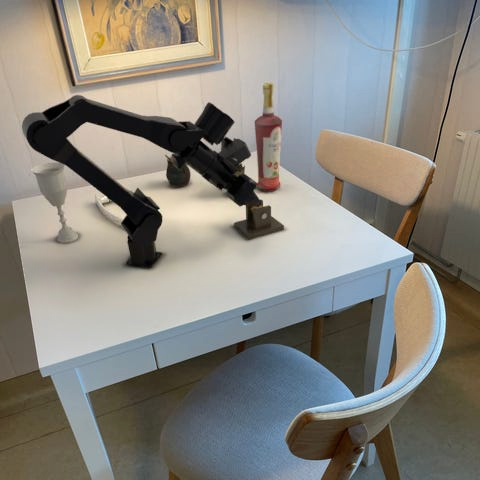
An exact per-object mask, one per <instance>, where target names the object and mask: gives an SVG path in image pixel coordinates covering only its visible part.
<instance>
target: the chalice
mask: <svg viewBox="0 0 480 480" xmlns="http://www.w3.org/2000/svg"><path fill="white" fill-rule="evenodd" d="M64 169H65V165H64V164H62V163H59V162H57V161H53V162H52V161H51V162H44V163H41V164H40V163H39V164H38V165H35V166H33V167H32V168H31V172H32V173H33V174H34V176H35V178H36V182H37V185H38V188H39V191H40V193H41V194H42V196H43V197H44V199H46V200H47V202H49V204H50V205H51V206H52V207H56V209H57V213H56V214H57V216H59V220H58V222H60V223H61V226H62V227H61V228H60V229H59V230H58V233H57V234H58V235H57V242H59V243H62V244H67V243H72V242H75V241H76V240H77V239H78V238H79V235H78V233H76V231H75V230H74V229H73V228H72V227H69V226H68V225H67V218H65V212H64V210H63V208H62V206H63V205H65V203H66V198H67V193H68V183H67V179H66V175H65V172H64Z"/></svg>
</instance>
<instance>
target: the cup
mask: <svg viewBox="0 0 480 480" xmlns="http://www.w3.org/2000/svg"><path fill="white" fill-rule="evenodd" d="M235 167H236V168H238V170H237V172H236V173H235V175H236V176H237V177H238V176H239V175H241V174H245V173H246V172H245V170H246V165H245V164H244V165H243V162H242V163H240V164H239V165H237V166H235ZM225 190H226V191H225V193H227V191H228V190H227V189H225Z"/></svg>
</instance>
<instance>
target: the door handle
mask: <svg viewBox="0 0 480 480" xmlns="http://www.w3.org/2000/svg"><path fill="white" fill-rule="evenodd" d="M94 199H95V200H94V201H95V204H96V206H97V207H98V208H99V210H100V211H101V212H102V213H103V215H105V216H106V217H107V218H108V219H109V220H111V221H113V222H115V223H116V224H118V225H119V226H121V222H122V221H123V219H124V218H122V217H121V216H118V215H116V214H114V213H113V212H111V211H109V210H108V209H107V208H106V207H105V206H104V205H103V204H107V203H109V202H112V201H111V200H110V199H109V198H107V197H106V196H105V195H103V196H102V197H101V196H100V195H99V194H98V193H95V198H94Z"/></svg>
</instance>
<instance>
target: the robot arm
mask: <svg viewBox="0 0 480 480" xmlns="http://www.w3.org/2000/svg"><path fill="white" fill-rule="evenodd" d="M21 123H22V124H21V130H22V134H23V136H24V138H25V139H26V141H27V143H28V144H29V146H30V147H31V148H32V150H34V151H35V152H37V153H38V154H40V155H42V156H44V157H46V158H48V159H50V160H52V161H53V162H57V163H62V164H64V166H65V167H67V168H68V169H70V170H71V171H73V172H74V173H75V174H76V175H78V176H79V177H80V178H81V179H83V180H84V181H86V183H88V184H89V185H90V186H92V187H93V188H94V189H96V190H97V191H98V192H100V193H101V194H102V195H103V196H106V197H107V198H109V199H110V200H111V202H113V203H114V204H115V205H116V206H117V207H119V208H120V209H121V210H122V211H123V212H124V213H125V214H126V215H125V216H124V218H123V221H122V222H121V225H120V226H121V227H122V229H123V231H125V233H126V234H127V235H126V236H127V237H126V239H127V240H126V242H127V247H128V253H129V258H128V259H127V260H126V261H125V265H127V266H131V267H132V266H133V267H138V268H139V267H140V268H147V269H152V268H153V267H154V265H155V264H156V263H158V261H159V260H160V258H161V257H162V256H163V252H162V251H157V246H156V241H157V236H158V232H159V229H160V228H161V227H162V226H163V225H162V224H163V214H162V213H161V212H160V211H159V210H160V209H161V207H160V206H159V205H158V204H157V203H156V202H155V201H154V200H153V199H152V198H151V197H150V196H147V194H145V193H144V192H143V191H142V190H141V189H140V187H137V188H136V189H135V191H132V190H130V189H127V188H126V187H124V186H123V185H122V183H120V182H118V181H117V180H116V179H115V178H114V177H112V176H111V175H110V174H109V173H108V172H106V171H105V170H104V169H103V168H102V167H100V166H99V165H98V164H96V163H95V161H93V160H92V159H91V158H89V157H88V156H86V154H84V153H83V152H82V151H81V150H80V149H78V148H77V147H75V145H74V144H73V143H72V142H71V141H70V139H69V137H70V136H71V135H73V133H75V132H76V131H77V130H78V129H80V127H81V126H82V125H84V124H86V123H89V124H92V125H95V126H100V127H103V128H107V129H109V130H113V131H117V132H121V133H125V134H128V135H132V136H134V137H135V136H136V137H138V138H142V139H144V140H146V141H148V142H151V143H152V144H154V145H155V146H157V147H160V148H162V149H163V150H166V151H168V152H170V153H172V154H171V156H172V158H173V165H174V166H175V167H177V168H178V169H179V170H180V169H181V168H182V167H183V165H184V164H185V163H186V164H187V166H188V167H189V168H191V169H192V170H193V171H195V172H196V173H198V174H199V175H200V176H201V177H202V178H203V179H204V180H206V182H208V183H209V184H211V185H212V186H214V187H216V188H217V189H218V190H219V191H222V190H226V189H227V190H228V191H227V192H226V195H227V198H228V199H229V200H230V201H232V202H233V203H234V204H235V205H237V206H238V207H243V206H245V207H246V206H255V207H260V206H261V204H262V202H261V201H260V200H261V199H260V198H259V196H258V195H257V194H256V191H255V189H257V187H258V186H257V183H258V182H257V181H255V180H254V179H253V178H251V177H250V176H249V175H247V174H245V173H244V174H241V175H239V176H238V177H237V176H236V175H235V173H236V172H237V170H238V168H236V167H235V166H237V165H239V164H241V163H242V164H243V163H244V161H246V160H248V159H250V158H251V156H252V154H251V153H252V152H251V151H250V149H249V147H248V144H247V143H246V142H245V141H244V140H242V139H241V138H235V137H234V138H233V140H232V139H231V138H229V136H228V137H227V136H226V135H227V134H228V132H230V130H231V128H232V127H233V126H234V124H235V123H236V122H235V120H234V119H233V118H232V117H231V116H230V115H229V114H228V113H225V112H223V111H222V109H220V108H218V107H217V106H216V105H215V104H214V103H212V102H209V101H208V102H207V103H206V105H205V106H204V108H203V111H202V112H201V113H200V115H199V117H198V118H197V120H196V121H195V122H194V123H193V122H192V121H190V120H189V121H178V120H175V119H174V118H172V117H168V116H159V115H141V114H139V113H135V112H133V111H132V112H131V111H128V110H125V109H122V108H119V107H115V106H112V105H109V104H106V103H102V102H99V101H96V100H93V99H89V98H87V97H85V96H84V95H80V94H76V95H73V96H71V97H70V98H68V99H67V100H65V101H63V102H60V103H58V104H55V105H52V106H50V107H49V108H46V109H45V110H42V111H41V112H40V111H39V112H31V113H29V114H27V115H26V116H25V117H24V118H23V121H22V122H21ZM202 140H204V141H205V142H206V143H208V144H209V145H211V146H214V145H215V146H218V145H220V147H221V148H220V151H219V152H217V151H216V150H213V149H212V148H210V146H208V145H207V144H206V143H204V141H202Z"/></svg>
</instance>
